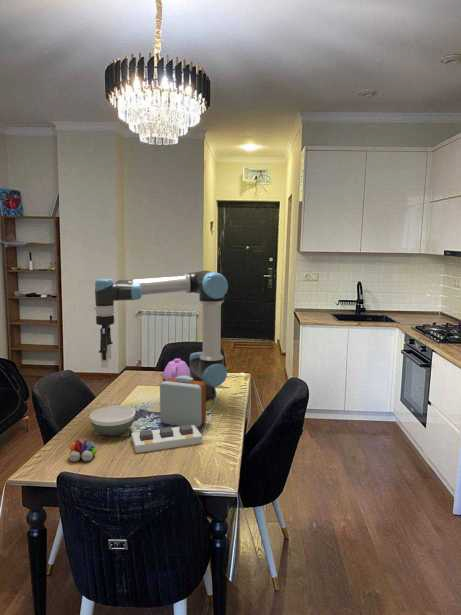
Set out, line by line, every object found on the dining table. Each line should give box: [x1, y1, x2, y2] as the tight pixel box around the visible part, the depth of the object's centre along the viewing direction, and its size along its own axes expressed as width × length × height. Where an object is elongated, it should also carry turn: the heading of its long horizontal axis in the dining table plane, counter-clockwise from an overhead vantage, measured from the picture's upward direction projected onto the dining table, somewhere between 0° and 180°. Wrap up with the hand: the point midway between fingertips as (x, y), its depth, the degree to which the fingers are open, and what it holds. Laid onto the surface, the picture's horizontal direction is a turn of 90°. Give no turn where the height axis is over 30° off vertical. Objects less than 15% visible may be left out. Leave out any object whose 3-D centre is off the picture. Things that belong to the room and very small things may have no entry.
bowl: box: [89, 404, 137, 437], centre depth 195 cm, size 19×19×8 cm
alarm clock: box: [159, 376, 207, 429], centre depth 204 cm, size 18×9×21 cm, turn 71°
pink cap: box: [162, 358, 190, 381], centre depth 267 cm, size 22×16×12 cm
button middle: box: [159, 426, 173, 438], centre depth 186 cm, size 4×4×3 cm
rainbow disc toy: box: [68, 438, 97, 463], centre depth 172 cm, size 8×10×7 cm
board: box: [131, 425, 203, 454], centre depth 186 cm, size 26×12×3 cm, turn 110°
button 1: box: [139, 429, 153, 441], centre depth 183 cm, size 4×4×3 cm
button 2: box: [178, 425, 193, 435], centre depth 188 cm, size 4×4×3 cm
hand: (106, 363), depth 203 cm, fingers open, 13 cm apart
